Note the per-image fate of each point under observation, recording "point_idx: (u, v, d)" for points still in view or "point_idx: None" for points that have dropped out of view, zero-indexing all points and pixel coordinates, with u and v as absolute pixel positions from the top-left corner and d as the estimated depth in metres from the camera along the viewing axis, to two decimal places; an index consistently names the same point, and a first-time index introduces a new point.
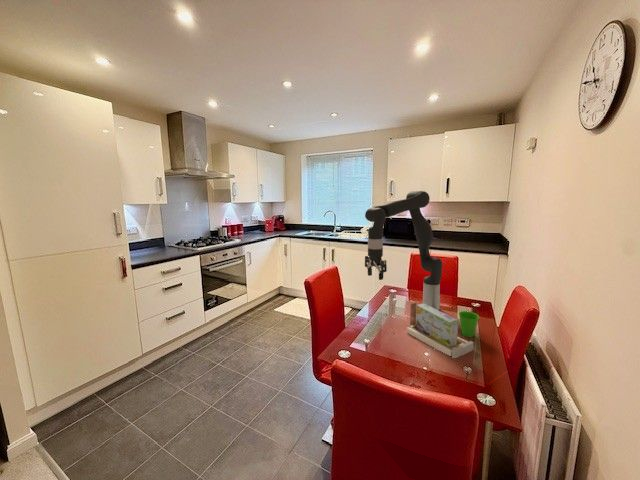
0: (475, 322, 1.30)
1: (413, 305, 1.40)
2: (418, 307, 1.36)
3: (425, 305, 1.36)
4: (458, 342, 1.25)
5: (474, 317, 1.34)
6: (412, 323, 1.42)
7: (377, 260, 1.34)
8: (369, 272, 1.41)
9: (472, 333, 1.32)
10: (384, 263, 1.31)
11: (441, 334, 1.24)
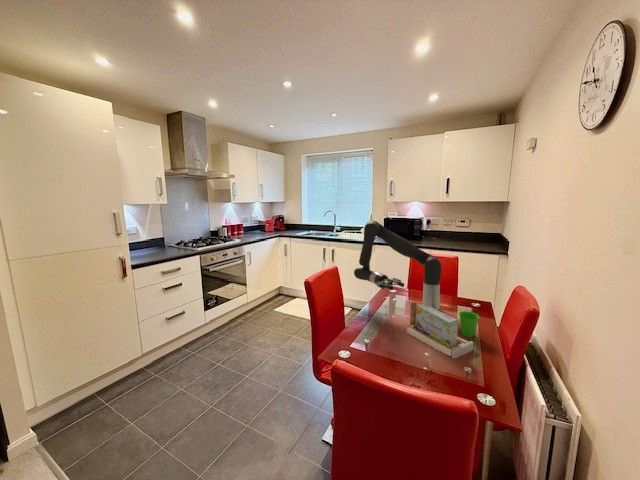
0: (475, 322, 1.30)
1: (413, 305, 1.40)
2: (418, 307, 1.36)
3: (425, 305, 1.36)
4: (458, 342, 1.25)
5: (474, 317, 1.34)
6: (412, 323, 1.42)
7: None
8: (400, 285, 1.53)
9: (472, 333, 1.32)
10: (378, 284, 1.54)
11: (441, 334, 1.24)
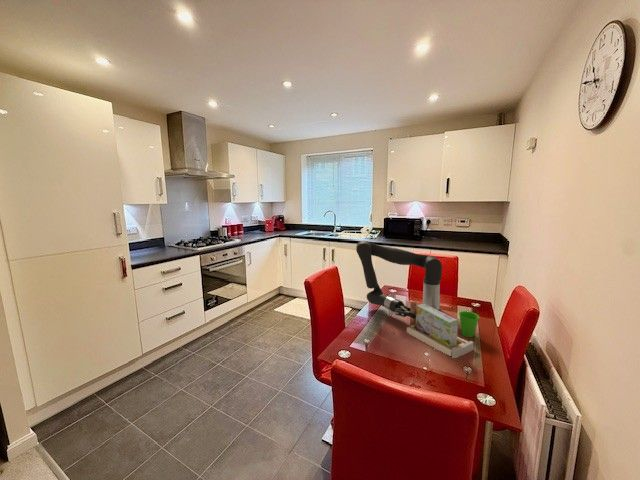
0: (475, 322, 1.30)
1: (413, 305, 1.40)
2: (418, 307, 1.36)
3: (425, 305, 1.36)
4: (458, 342, 1.25)
5: (474, 317, 1.34)
6: (412, 323, 1.42)
7: None
8: None
9: (472, 333, 1.32)
10: (397, 313, 1.44)
11: (441, 334, 1.24)
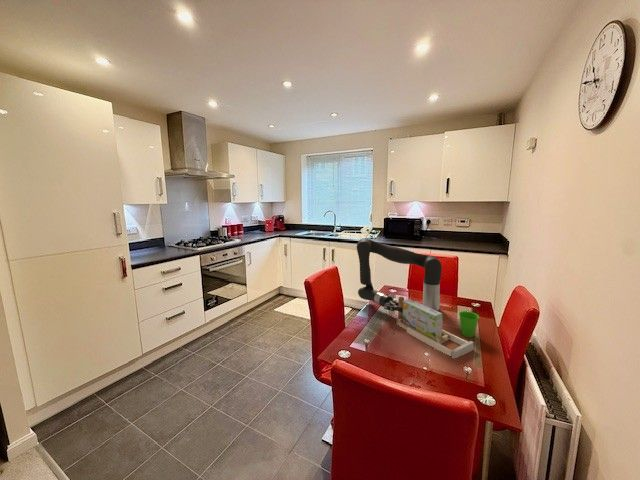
0: (475, 322, 1.30)
1: (401, 300, 1.47)
2: (404, 303, 1.42)
3: (411, 301, 1.42)
4: (442, 334, 1.33)
5: (474, 317, 1.34)
6: (400, 317, 1.49)
7: None
8: None
9: (472, 333, 1.32)
10: (386, 307, 1.52)
11: (427, 327, 1.30)
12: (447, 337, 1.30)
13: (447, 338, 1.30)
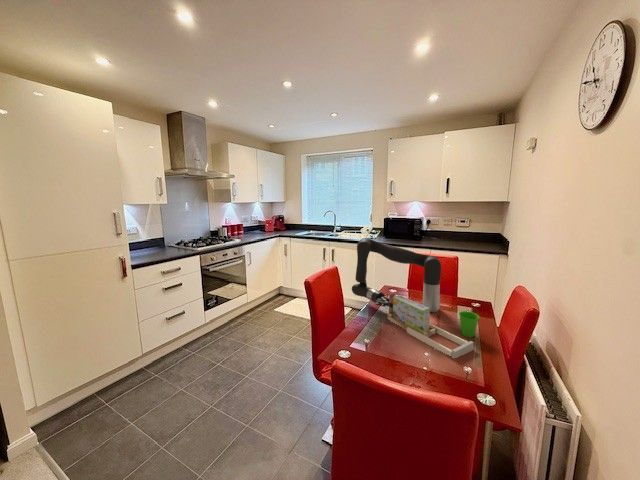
0: (475, 322, 1.30)
1: (391, 295, 1.54)
2: (394, 299, 1.48)
3: (400, 296, 1.48)
4: (429, 328, 1.39)
5: (474, 317, 1.34)
6: (391, 312, 1.56)
7: None
8: None
9: (472, 333, 1.32)
10: (377, 303, 1.58)
11: (415, 322, 1.36)
12: (434, 331, 1.36)
13: (434, 332, 1.36)
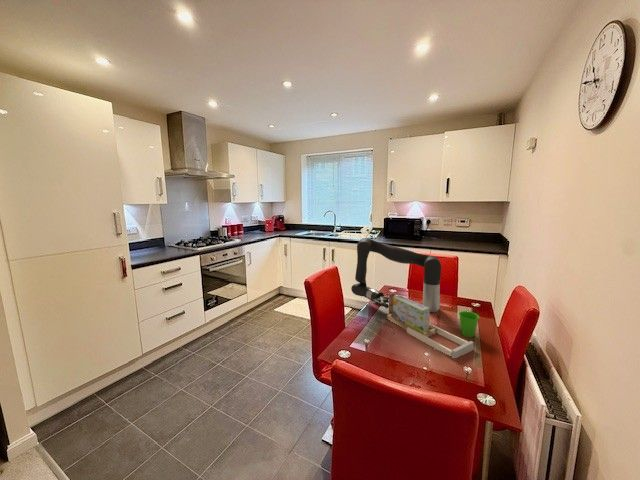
0: (475, 322, 1.30)
1: (391, 295, 1.54)
2: (394, 299, 1.48)
3: (400, 296, 1.48)
4: (429, 328, 1.39)
5: (474, 317, 1.34)
6: (391, 312, 1.56)
7: None
8: None
9: (472, 333, 1.32)
10: (374, 302, 1.59)
11: (415, 322, 1.36)
12: (434, 331, 1.36)
13: (434, 332, 1.36)
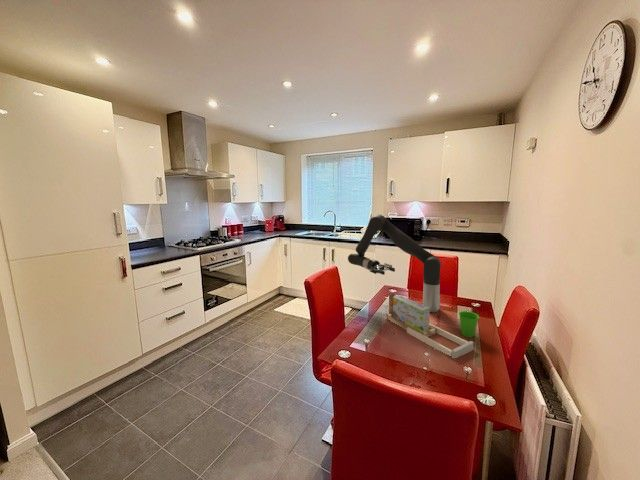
0: (475, 322, 1.30)
1: (391, 295, 1.54)
2: (394, 299, 1.48)
3: (400, 296, 1.48)
4: (429, 328, 1.39)
5: (474, 317, 1.34)
6: (391, 312, 1.56)
7: None
8: (391, 270, 1.63)
9: (472, 333, 1.32)
10: (370, 269, 1.64)
11: (415, 322, 1.36)
12: (434, 331, 1.36)
13: (434, 332, 1.36)
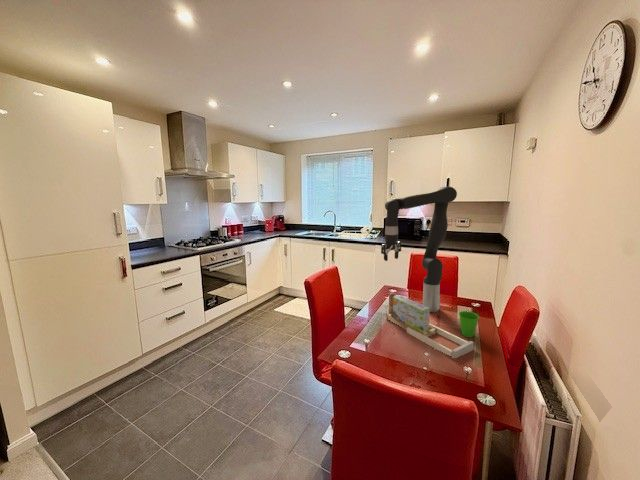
0: (475, 322, 1.30)
1: (391, 295, 1.54)
2: (394, 299, 1.48)
3: (400, 296, 1.48)
4: (429, 328, 1.39)
5: (474, 317, 1.34)
6: (391, 312, 1.56)
7: None
8: (395, 255, 1.64)
9: (472, 333, 1.32)
10: (382, 246, 1.57)
11: (415, 322, 1.36)
12: (434, 331, 1.36)
13: (434, 332, 1.36)
